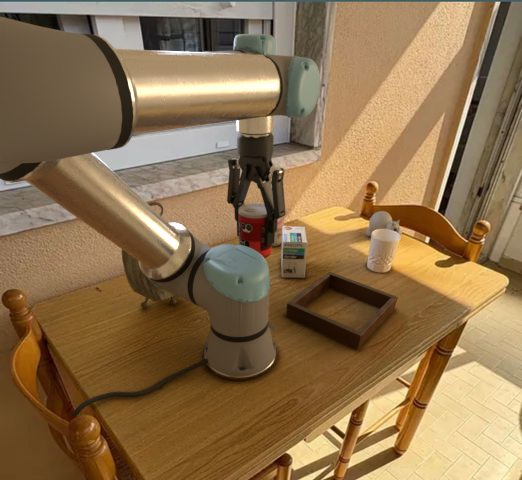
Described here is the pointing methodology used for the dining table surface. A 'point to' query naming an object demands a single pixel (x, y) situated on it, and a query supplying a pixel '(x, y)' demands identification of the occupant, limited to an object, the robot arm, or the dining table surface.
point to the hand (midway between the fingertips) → (255, 239)
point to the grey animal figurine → (382, 223)
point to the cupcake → (278, 233)
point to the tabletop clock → (143, 277)
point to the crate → (335, 328)
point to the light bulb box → (293, 252)
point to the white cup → (382, 249)
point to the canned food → (253, 228)
